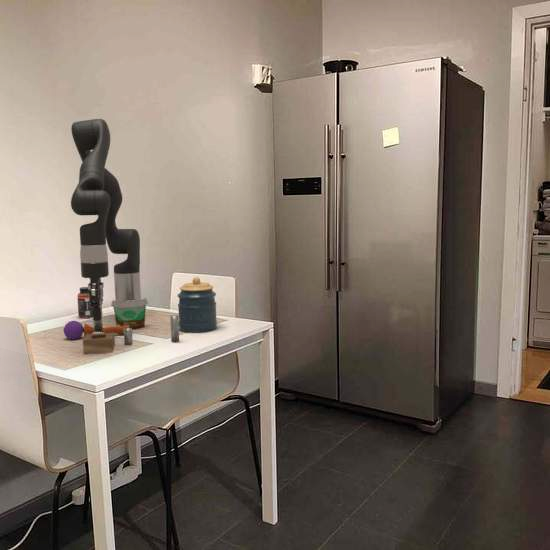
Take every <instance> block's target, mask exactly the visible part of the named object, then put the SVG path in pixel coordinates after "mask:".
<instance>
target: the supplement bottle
mask: <svg viewBox="0 0 550 550" xmlns="http://www.w3.org/2000/svg"><path fill="white" fill-rule="evenodd" d="M88 291H89V290H88V286H82V287H79V293H77V309H78V311H77V312H78V314H77V315H78V318H80V319H89V318H93V311H92V307H91V306H90V299H89V292H88Z"/></svg>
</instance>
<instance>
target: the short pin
mask: <svg viewBox="0 0 550 550" xmlns="http://www.w3.org/2000/svg"><path fill="white" fill-rule="evenodd" d="M133 342H134V341H133V330H132V328H124V335H123V343H124V346H126V345H129V346H133V345H132V344H133Z"/></svg>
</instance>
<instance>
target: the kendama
mask: <svg viewBox="0 0 550 550" xmlns="http://www.w3.org/2000/svg"><path fill="white" fill-rule="evenodd" d="M124 328H129V325H125V326H117V325H116V326H107V327H103V331H102V332H101V333H113V332H114V335H122V336H124ZM86 334H95V332H94V326H91V325H89V324H87V323H84V325H83V324H82V323H81V322H80V321H77V320H70V321H68V322H67V323H65V325H64V327H63V335H64V336H65V337H66V338H67V339H69V340H77V338H78V339H80V338H81V337H82V336H84V338H85V336H86Z"/></svg>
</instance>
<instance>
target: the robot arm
mask: <svg viewBox="0 0 550 550" xmlns="http://www.w3.org/2000/svg"><path fill="white" fill-rule="evenodd" d="M70 127H71V128H70V129H71V136H72V139H73V142H74V145H75V147H76V149H77V152H78V155H79V157H80V159H81V161H82V162H81V165H80V167H79V176H78V184H77V185H76V188H75V189H74V190H73V193H72V196H71V198H70V199H71V200H70V208H71V210H72V211H73V213H74V214H76V215H78V216H97V219H96V220H95V221H94V222H90V223H86V224H82V225H81V226H80V227H79V237H80V239H79V240H80V241H79V243H80V250H79V253H80V254H79V257H80V258H79V259H80V270H81V271H80V272H81V273H80V274H81V277H82V278H84V279H89V282H88V284H87V287H88V290H89V291H88V292H89V299H90V306H91V307H92V311H93V317H92V321H93V322H94V321H100V320H101V308H102V309H103V307H102V306H103V304H104V303H103V302H104V299H103V298H104V282H103V281H102V279H103V278H107V277H108V276H109V274H110V272H109V255H108V253H109V252H108V249H109V251H110V252H111V253H112V254H115V255H127V258H126V259H125V260H124V261H122V262H120V263H116V264H115V265H114V266H113V278H114V294H115V295H114V296H115V298H114V299H115V300H114V301H127V300H142V294H141V289H142V287H141V275H140V274H141V273H140V271H141V270H140V267H141V265H140V264H141V258H140V257H141V252H140V251H141V239H140V238H141V237H140V234H139V232H138V230H137V229H134V228H118V226H117V224H116V218H117V215H118V213H119V211H120V208H121V206H122V203H123V193H122V191H121V187H120V186H121V185H120V183H119V180H118V179H117V177H116V176H115V175H114V174H113V173H111V172H110V171H109V170H108V169H107V168H106V162H107V158H108V155H109V150H110V148H111V147H110V146H111V132H110V128H109V125H108V123H107V122H106V120H104V119H103V118H95V119H87V120H78V121H75V122H73V123H72V125H71V126H70ZM94 301H97V303H94Z"/></svg>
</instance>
